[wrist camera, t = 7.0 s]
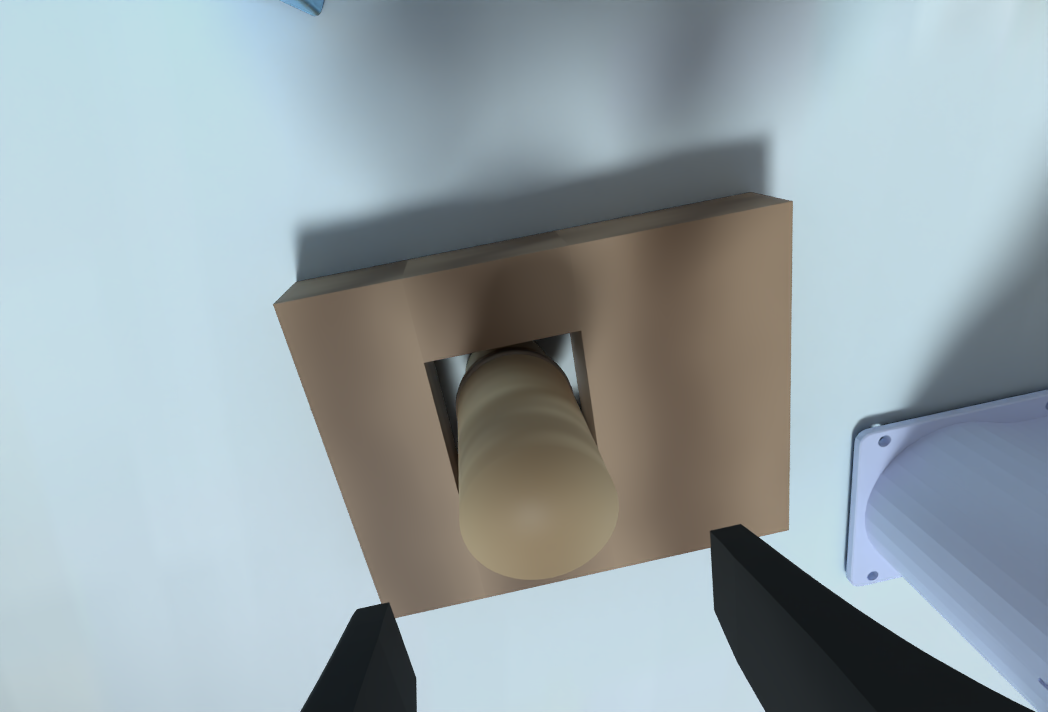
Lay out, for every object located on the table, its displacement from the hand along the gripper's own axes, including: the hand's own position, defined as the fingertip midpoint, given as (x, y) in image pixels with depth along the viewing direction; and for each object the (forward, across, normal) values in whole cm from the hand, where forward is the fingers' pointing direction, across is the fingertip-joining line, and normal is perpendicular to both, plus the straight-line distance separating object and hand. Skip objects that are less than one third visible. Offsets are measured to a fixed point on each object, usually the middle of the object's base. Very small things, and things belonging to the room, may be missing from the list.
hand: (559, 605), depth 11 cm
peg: (+10, 0, 0) cm, 10 cm away
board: (+10, -2, +1) cm, 10 cm away
